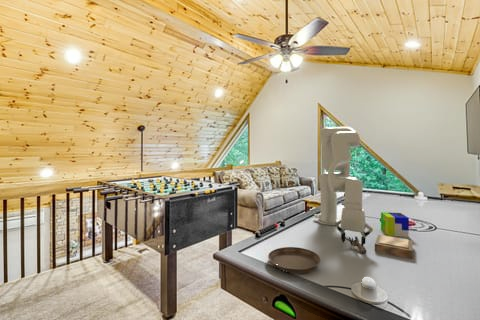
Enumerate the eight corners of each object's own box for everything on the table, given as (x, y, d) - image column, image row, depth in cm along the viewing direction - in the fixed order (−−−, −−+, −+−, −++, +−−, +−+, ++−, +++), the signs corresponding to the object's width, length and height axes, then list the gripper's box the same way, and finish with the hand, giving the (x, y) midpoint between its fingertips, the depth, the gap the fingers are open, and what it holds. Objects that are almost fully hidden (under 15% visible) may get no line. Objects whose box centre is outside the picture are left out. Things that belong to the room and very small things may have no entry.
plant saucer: (257, 264, 101) (257, 256, 100) (287, 249, 115) (287, 242, 115) (302, 284, 86) (302, 274, 86) (329, 264, 100) (329, 256, 100)
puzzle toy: (408, 236, 129) (408, 217, 129) (387, 235, 131) (387, 217, 131) (400, 230, 139) (400, 212, 138) (380, 229, 141) (381, 212, 140)
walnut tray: (374, 251, 111) (374, 242, 111) (377, 241, 123) (378, 233, 123) (412, 259, 103) (412, 249, 103) (412, 247, 115) (412, 239, 115)
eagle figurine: (341, 244, 116) (353, 248, 108) (347, 230, 118) (359, 233, 109) (353, 252, 117) (367, 257, 108) (359, 238, 119) (373, 242, 110)
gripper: (331, 205, 116) (331, 242, 117) (373, 209, 106) (373, 250, 107) (335, 202, 122) (335, 237, 123) (375, 206, 113) (375, 244, 113)
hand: (353, 242), depth 115 cm, fingers closed on eagle figurine, 7 cm apart
